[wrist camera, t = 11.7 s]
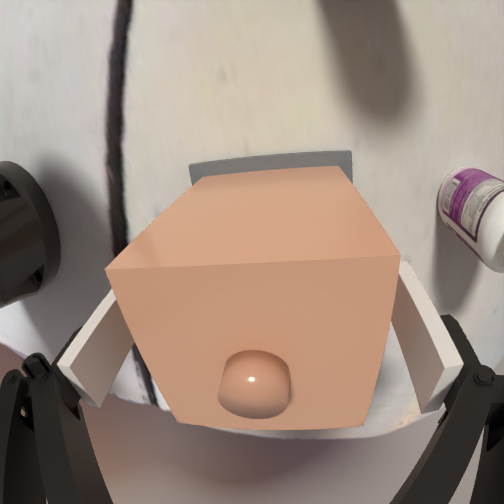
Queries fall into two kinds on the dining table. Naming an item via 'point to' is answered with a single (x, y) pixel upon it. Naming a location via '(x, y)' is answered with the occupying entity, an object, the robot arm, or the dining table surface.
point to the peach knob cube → (262, 300)
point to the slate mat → (273, 163)
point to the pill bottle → (475, 213)
